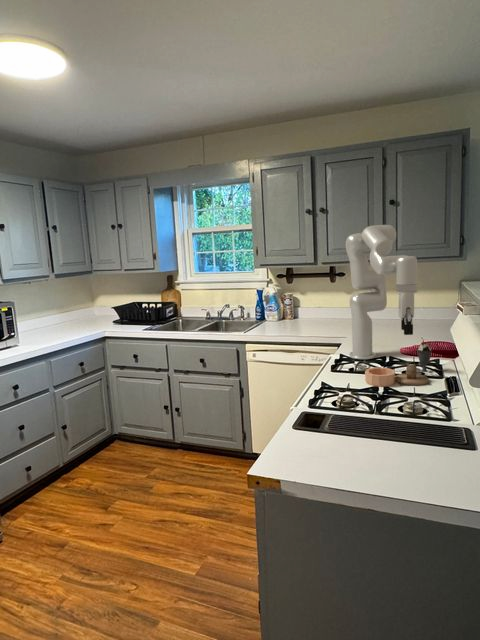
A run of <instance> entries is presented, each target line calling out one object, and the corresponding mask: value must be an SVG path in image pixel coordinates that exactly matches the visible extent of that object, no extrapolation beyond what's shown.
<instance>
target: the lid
mask: <svg viewBox="0 0 480 640" xmlns="http://www.w3.org/2000/svg"><path fill="white" fill-rule="evenodd" d="M428 382H429V378H428V376H426V375H424V374H419V373H417V365H416V364H407V365H406V373H404V372H403V373H400V374H397V375H395V383H397V384H398V383H399V384H403V385H408V386H407V387H417V386H418V387H421V385H425V384H427V383H428ZM399 384H398V385H399ZM425 386H426V385H425Z"/></svg>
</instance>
